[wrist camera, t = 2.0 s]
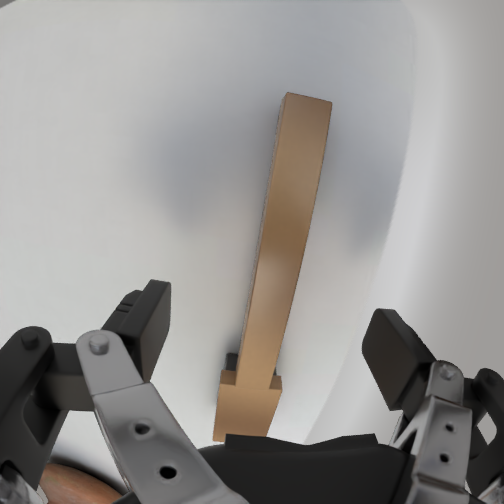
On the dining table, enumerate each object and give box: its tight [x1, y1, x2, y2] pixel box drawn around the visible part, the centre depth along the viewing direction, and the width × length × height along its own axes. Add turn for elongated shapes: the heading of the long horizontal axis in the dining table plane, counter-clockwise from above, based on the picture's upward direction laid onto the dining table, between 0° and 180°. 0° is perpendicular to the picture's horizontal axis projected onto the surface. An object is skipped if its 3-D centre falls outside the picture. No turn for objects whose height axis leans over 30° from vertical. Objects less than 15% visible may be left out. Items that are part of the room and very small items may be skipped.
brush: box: [212, 92, 332, 442], centre depth 15 cm, size 20×3×3 cm, turn 171°
